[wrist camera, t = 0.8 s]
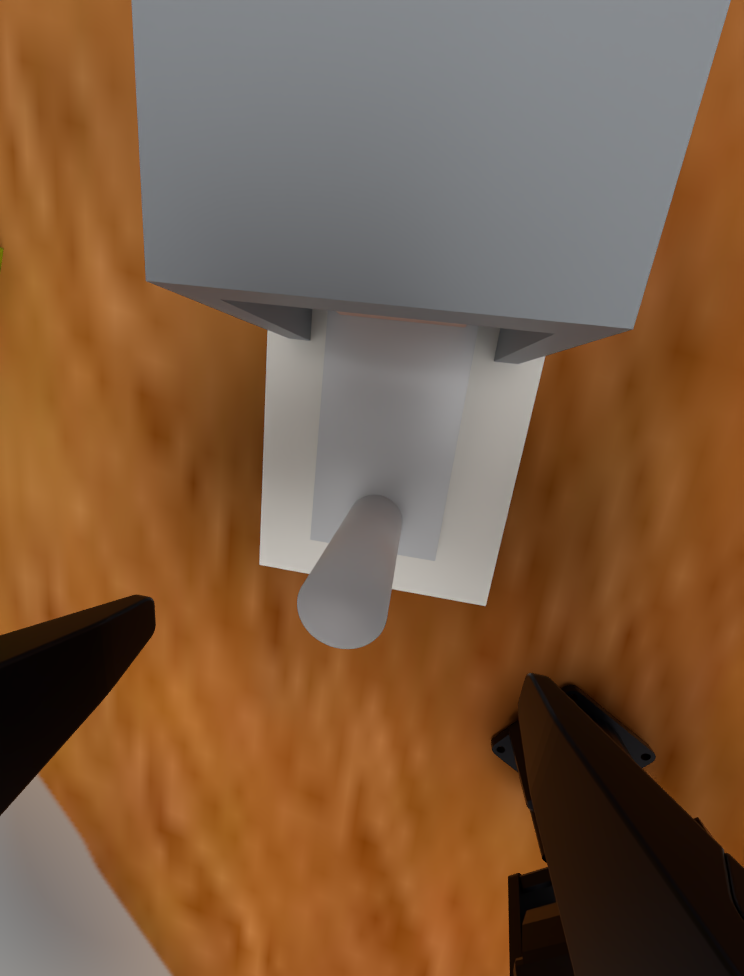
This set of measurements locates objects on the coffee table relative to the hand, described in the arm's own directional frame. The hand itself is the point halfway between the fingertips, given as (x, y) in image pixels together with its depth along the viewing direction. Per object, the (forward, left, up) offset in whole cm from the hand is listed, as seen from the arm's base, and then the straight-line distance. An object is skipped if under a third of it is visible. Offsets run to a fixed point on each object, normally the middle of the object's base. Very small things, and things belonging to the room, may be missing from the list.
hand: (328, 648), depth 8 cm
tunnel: (+6, -9, -10) cm, 15 cm away
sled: (+3, -5, -9) cm, 11 cm away
